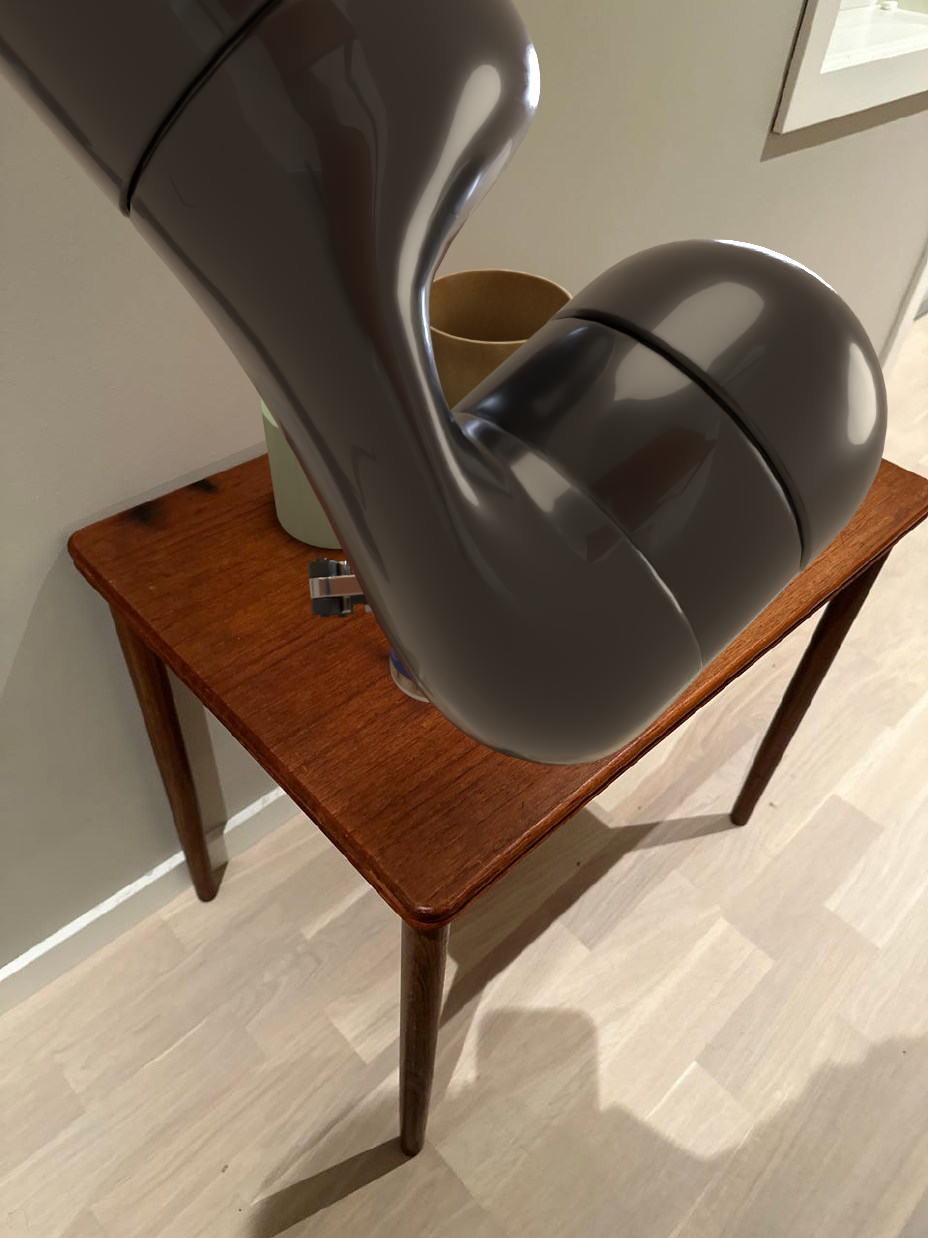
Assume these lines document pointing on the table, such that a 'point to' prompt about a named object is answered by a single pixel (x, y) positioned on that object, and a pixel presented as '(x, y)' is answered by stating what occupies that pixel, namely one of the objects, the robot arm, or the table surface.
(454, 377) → the plant pot
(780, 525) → the robot arm
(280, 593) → the table surface
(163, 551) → the table surface
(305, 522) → the tin
